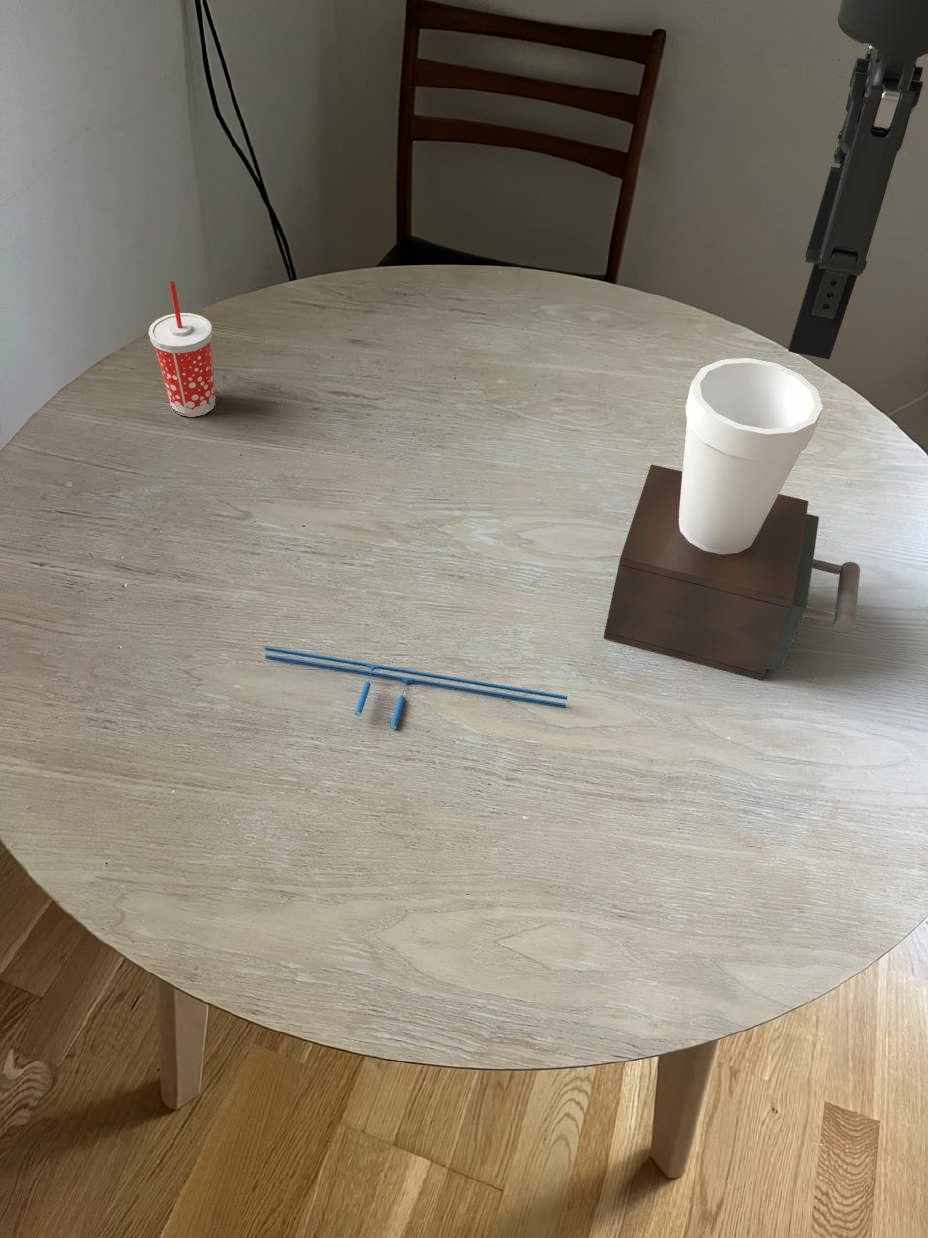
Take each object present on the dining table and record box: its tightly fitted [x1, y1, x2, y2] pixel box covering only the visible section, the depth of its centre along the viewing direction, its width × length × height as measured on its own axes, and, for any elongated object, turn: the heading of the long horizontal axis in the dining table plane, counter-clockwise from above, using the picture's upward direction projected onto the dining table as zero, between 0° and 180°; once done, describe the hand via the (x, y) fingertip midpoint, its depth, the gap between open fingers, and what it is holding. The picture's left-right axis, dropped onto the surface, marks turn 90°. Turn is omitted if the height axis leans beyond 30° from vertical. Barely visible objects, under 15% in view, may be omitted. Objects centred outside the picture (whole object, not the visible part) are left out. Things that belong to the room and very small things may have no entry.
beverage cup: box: [148, 280, 217, 413], centre depth 104 cm, size 6×6×14 cm
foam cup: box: [679, 357, 824, 554], centre depth 80 cm, size 10×9×13 cm
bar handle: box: [263, 645, 568, 730], centre depth 83 cm, size 1×25×5 cm
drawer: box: [766, 513, 861, 673], centre depth 88 cm, size 17×11×8 cm
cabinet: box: [603, 463, 809, 681], centre depth 89 cm, size 14×13×10 cm
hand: (816, 302), depth 74 cm, fingers open, 13 cm apart
